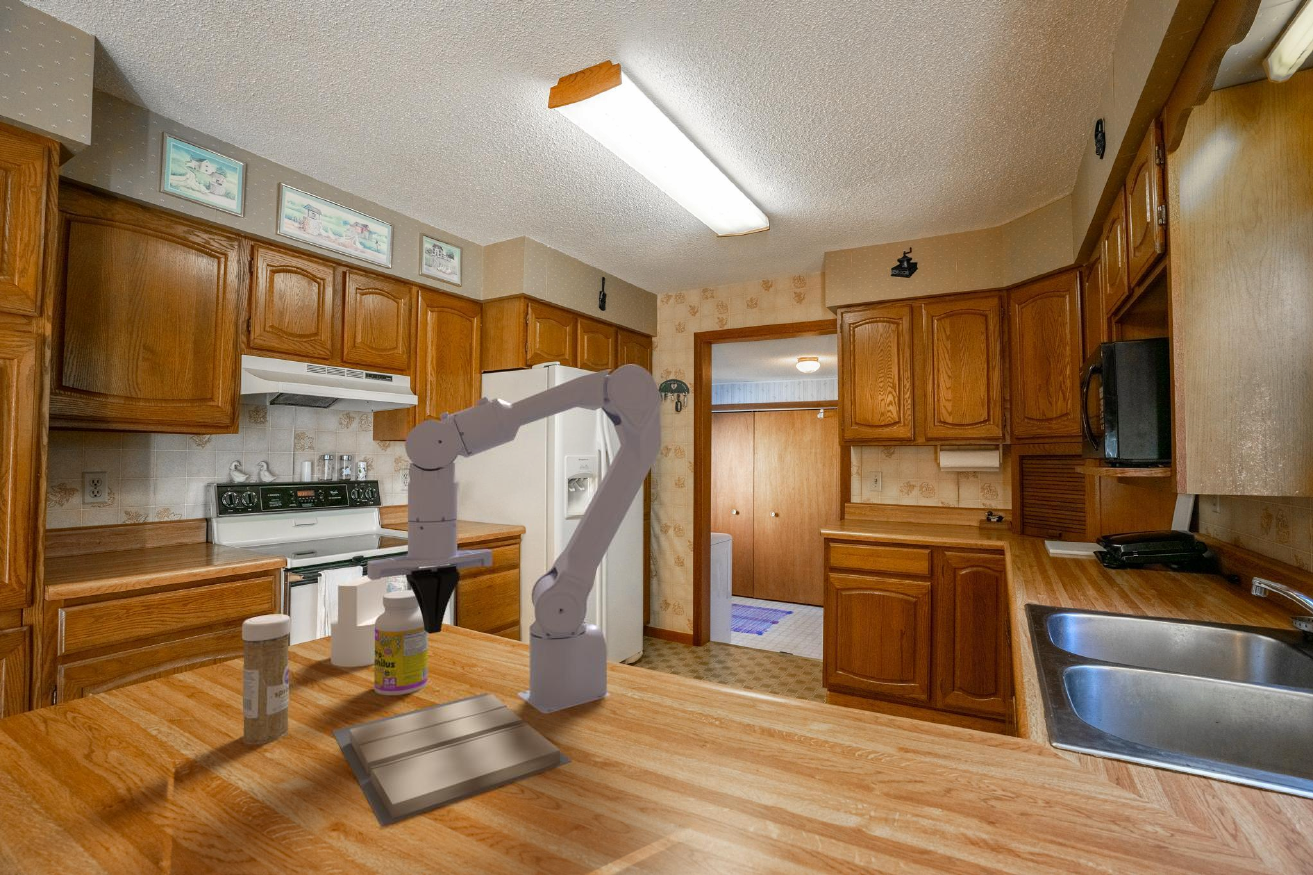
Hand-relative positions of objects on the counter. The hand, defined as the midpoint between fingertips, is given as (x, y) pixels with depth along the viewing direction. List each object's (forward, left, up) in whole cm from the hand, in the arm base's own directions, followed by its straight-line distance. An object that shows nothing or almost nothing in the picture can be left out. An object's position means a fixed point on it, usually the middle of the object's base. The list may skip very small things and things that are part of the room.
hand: (432, 631), depth 77 cm
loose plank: (+2, +8, -9) cm, 12 cm away
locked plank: (+2, +18, -9) cm, 20 cm away
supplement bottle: (+1, -10, -10) cm, 14 cm away
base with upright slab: (+2, -28, -10) cm, 30 cm away
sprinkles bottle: (+17, -4, -10) cm, 20 cm away
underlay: (+2, +11, -10) cm, 15 cm away
